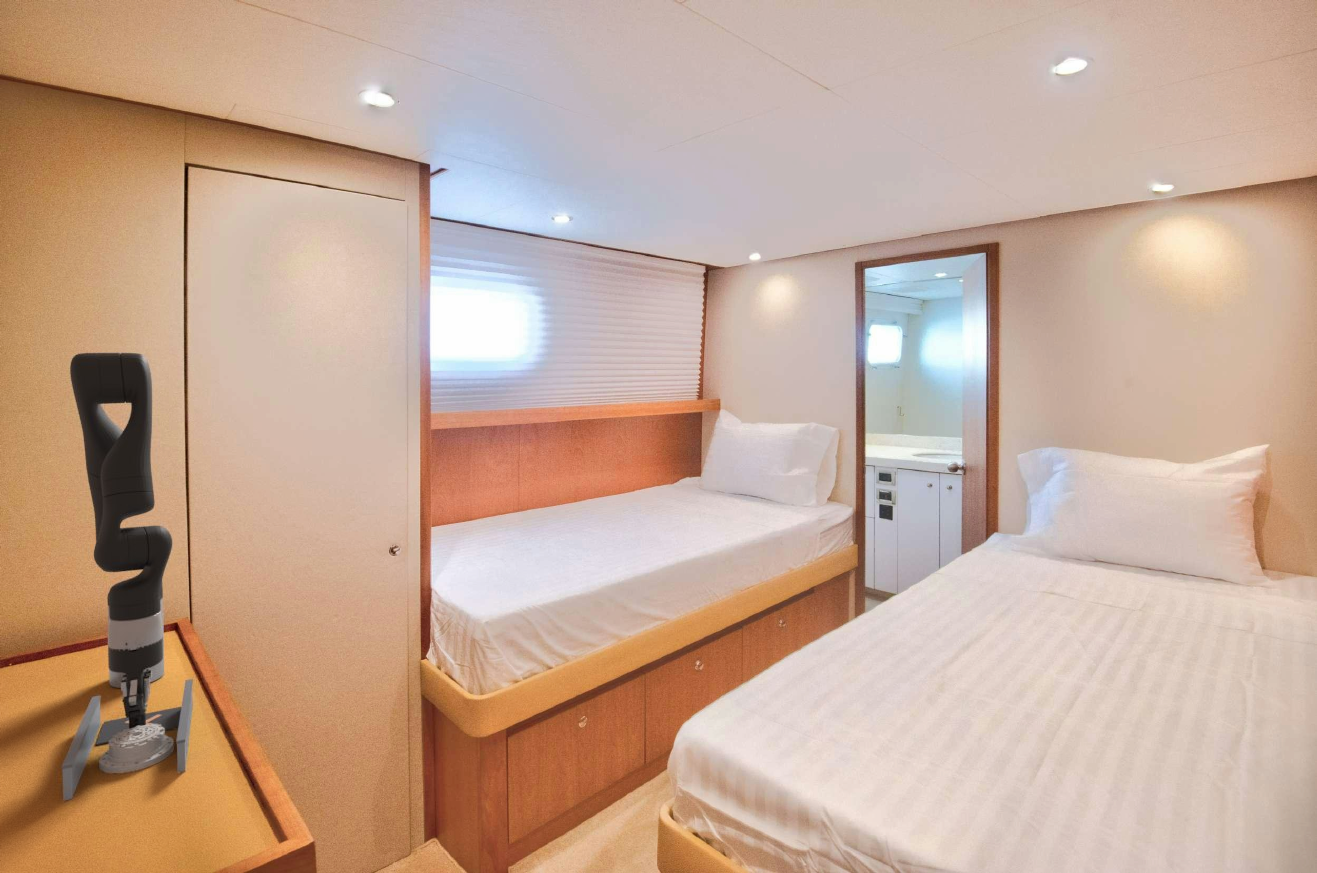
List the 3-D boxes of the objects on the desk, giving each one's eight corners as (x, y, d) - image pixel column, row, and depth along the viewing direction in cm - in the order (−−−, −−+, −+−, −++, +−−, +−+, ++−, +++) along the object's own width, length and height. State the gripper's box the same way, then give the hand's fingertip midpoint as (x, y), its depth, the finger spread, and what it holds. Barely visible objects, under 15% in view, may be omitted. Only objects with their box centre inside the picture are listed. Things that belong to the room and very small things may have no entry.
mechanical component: (82, 772, 106) (136, 778, 104) (82, 746, 105) (135, 752, 104) (139, 740, 115) (188, 745, 114) (138, 716, 115) (188, 721, 114)
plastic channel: (92, 725, 119) (92, 696, 119) (193, 705, 128) (193, 678, 127) (62, 801, 98) (61, 766, 97) (185, 771, 106) (185, 739, 106)
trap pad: (104, 723, 120) (104, 721, 120) (183, 707, 127) (183, 705, 127) (95, 745, 113) (95, 743, 113) (180, 727, 119) (180, 725, 119)
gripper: (113, 630, 116) (115, 721, 118) (101, 656, 105) (104, 757, 107) (165, 623, 120) (166, 711, 122) (159, 648, 110) (160, 745, 111)
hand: (137, 732), depth 114 cm, fingers closed
